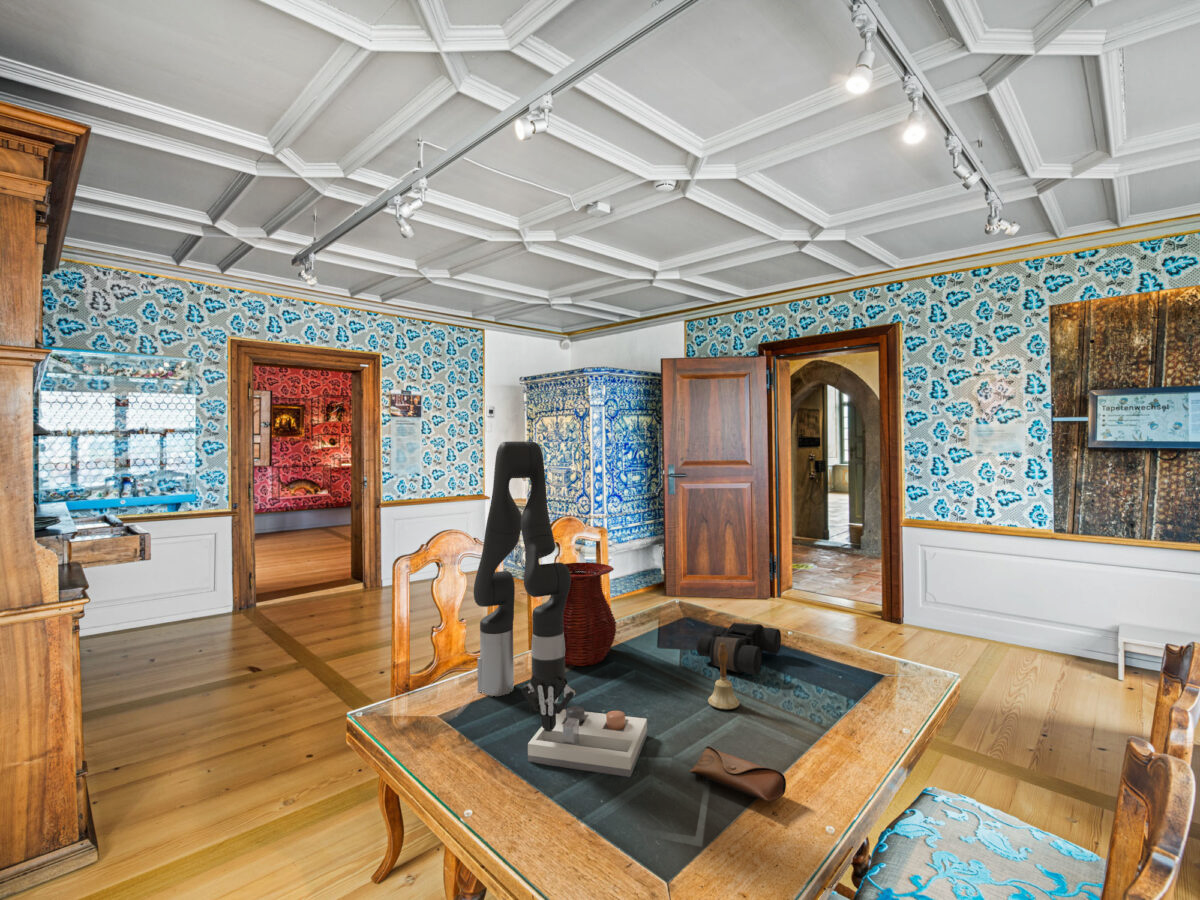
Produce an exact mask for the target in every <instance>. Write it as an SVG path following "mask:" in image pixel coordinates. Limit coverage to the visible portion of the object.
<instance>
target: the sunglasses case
mask: <svg viewBox="0 0 1200 900" xmlns="http://www.w3.org/2000/svg"><path fill="white" fill-rule="evenodd" d="M688 772H689V773H692V774H694V775H698V776H701V777H703V778H706V779H708V780H710V781H713V782H714V783H717V784H720V785H723V786H725V787H728V788H730V789H733V790H734V791H736V792H739V793H742V794H745V795H747V796H750V797H751V798H755V799H758V800H759V799H760V800H763V801H766V802H771V803H772V802H773V801H776V800H779V798H781V797H783V796H784V795H785V793H786V788H787V781H786V777H785V775H784V774H783V773H782V772H780V771H779V770H777V769H774V768H770V767H765V766H761V765H759V764H756V763H754V762H752V761H750V760H749V761H748V760H746V759H743V758H740V757H737V756H734V755H732V754H729V753H725V752H723V751H720V750H717V748H716V749H715V748H714V747H712V746H706V747H705V750H704V751H703V753H702V754H701V755H700V757H699V759H698V760H697V762H696V763H695V764H694V765H693V767H692V769H690V770H688Z"/></svg>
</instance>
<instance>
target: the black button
mask: <svg viewBox="0 0 1200 900" xmlns="http://www.w3.org/2000/svg"><path fill="white" fill-rule="evenodd" d="M565 709H566V721H567V719H568V718H575V719H579V725H580V724H583V723H584V721H585V720H584V712H585V708H584V707H583V706H580V705H573V706H571V705H570V706H568V707H567V708H565Z"/></svg>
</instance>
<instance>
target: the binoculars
mask: <svg viewBox="0 0 1200 900" xmlns="http://www.w3.org/2000/svg"><path fill="white" fill-rule="evenodd" d="M720 643H725V647H726V649H727V654H728V660H727V664H726V670H727V671H730V672H731V671H732V672H735V673H738V674H740V673H742V672H744V673H747V674H752V675H759V674H760V672H761V669H762V665H763V652H766V653H768V654H777V655H778V654H779V653H780V649H781V644H782V635H781V630H780V629H779V628H775V627H774V628H773V627H764V626H763V625H762V624H759V623H745V622H734V623H731V624H730V626H729V627H726V626H720V625H714V626H713V628H712V631H711V635H710V636H708V635H704V634H703V635H700V636H699V637H698V638H697V642H696V654H697V655H698V656H700V657H707V658H709V659H710V663H711V664H712V665H713V666H715V667H719V668H720V664H719V660H718V650H719V647H720Z"/></svg>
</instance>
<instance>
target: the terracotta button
mask: <svg viewBox="0 0 1200 900" xmlns="http://www.w3.org/2000/svg"><path fill="white" fill-rule="evenodd" d="M605 714H606V726H607V728H608V729H610V730H622V729H624V728H625V716H626V713H625V712H624V711H621V710H611V711H608V712H607V713H605Z"/></svg>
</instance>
